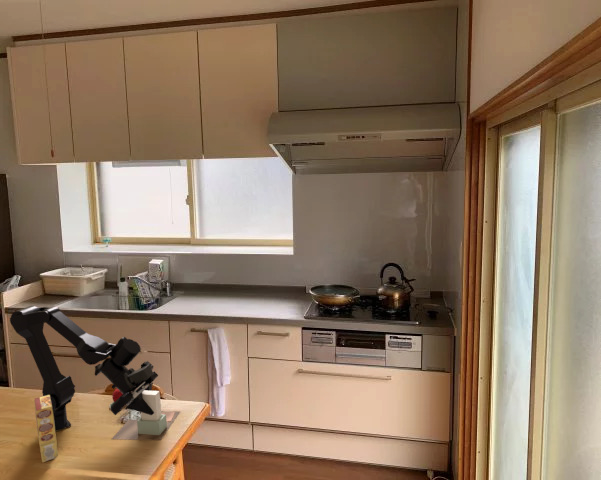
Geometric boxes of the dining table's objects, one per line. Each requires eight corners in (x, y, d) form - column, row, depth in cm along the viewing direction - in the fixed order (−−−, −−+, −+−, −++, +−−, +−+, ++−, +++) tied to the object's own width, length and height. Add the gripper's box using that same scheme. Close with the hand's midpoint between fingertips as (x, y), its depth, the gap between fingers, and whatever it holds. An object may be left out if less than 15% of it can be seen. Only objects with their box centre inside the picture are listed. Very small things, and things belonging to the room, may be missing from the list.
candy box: (58, 458, 125) (53, 405, 123) (41, 463, 123) (35, 410, 121) (55, 443, 132) (50, 393, 131) (39, 448, 130) (33, 398, 128)
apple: (104, 410, 151) (103, 392, 150) (117, 399, 159) (115, 381, 158) (127, 411, 150) (125, 393, 149) (138, 400, 158) (137, 382, 157)
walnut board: (111, 442, 132) (111, 438, 132) (136, 413, 148) (136, 410, 148) (161, 443, 131) (160, 439, 131) (180, 414, 147) (180, 411, 147)
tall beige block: (142, 432, 135) (139, 394, 134) (147, 427, 138) (144, 390, 136) (158, 433, 134) (155, 395, 133) (162, 428, 137) (159, 391, 135)
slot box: (137, 433, 134) (136, 421, 134) (145, 425, 139) (144, 413, 138) (159, 435, 133) (158, 422, 133) (166, 426, 138) (166, 414, 137)
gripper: (117, 370, 125) (156, 410, 124) (150, 346, 143) (185, 380, 142) (93, 395, 127) (132, 435, 127) (129, 368, 145) (163, 403, 145)
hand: (155, 411), depth 135 cm, fingers closed on tall beige block, 3 cm apart
